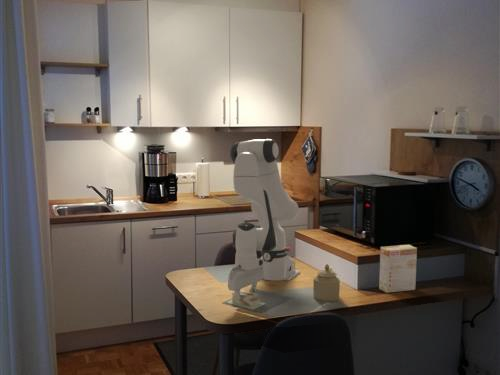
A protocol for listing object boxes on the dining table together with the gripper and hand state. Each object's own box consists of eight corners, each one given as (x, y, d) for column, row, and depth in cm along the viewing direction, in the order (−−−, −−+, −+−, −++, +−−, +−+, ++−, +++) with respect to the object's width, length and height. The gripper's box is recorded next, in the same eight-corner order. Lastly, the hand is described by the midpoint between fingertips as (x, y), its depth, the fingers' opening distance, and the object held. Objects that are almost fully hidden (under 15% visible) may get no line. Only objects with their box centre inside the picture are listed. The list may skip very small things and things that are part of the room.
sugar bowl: (307, 291, 253) (308, 258, 251) (331, 290, 255) (332, 257, 253) (317, 303, 239) (318, 268, 237) (342, 301, 241) (344, 266, 239)
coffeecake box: (406, 285, 264) (408, 244, 261) (415, 290, 257) (417, 247, 254) (378, 288, 259) (379, 246, 256) (386, 293, 252) (388, 250, 250)
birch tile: (259, 303, 235) (259, 294, 234) (251, 307, 231) (252, 297, 230) (239, 298, 241) (239, 289, 240) (232, 301, 237) (232, 292, 236)
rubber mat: (255, 290, 255) (255, 288, 255) (293, 299, 243) (293, 297, 243) (221, 304, 236) (221, 302, 236) (261, 314, 224) (261, 313, 224)
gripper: (236, 270, 223) (236, 304, 225) (266, 259, 240) (266, 291, 242) (224, 267, 227) (224, 301, 229) (254, 257, 243) (253, 288, 245)
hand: (245, 295), depth 235 cm, fingers open, 8 cm apart
